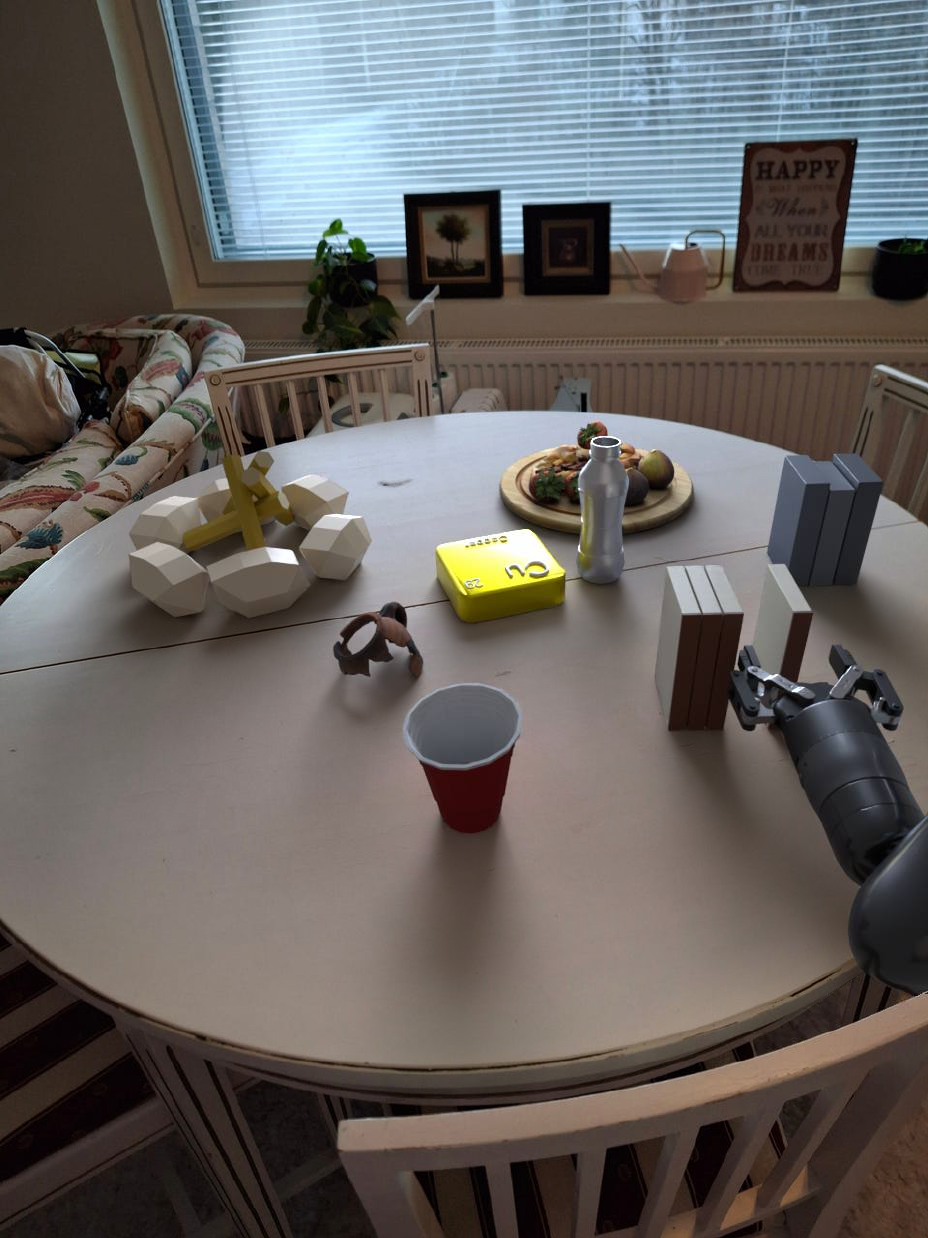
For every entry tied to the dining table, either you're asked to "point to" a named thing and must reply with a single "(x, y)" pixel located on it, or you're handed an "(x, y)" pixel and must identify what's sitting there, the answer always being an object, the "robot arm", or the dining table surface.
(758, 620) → the cream book
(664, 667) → the white books
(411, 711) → the plastic cup
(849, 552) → the grey books
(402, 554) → the dining table surface
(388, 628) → the brown looped sculpture
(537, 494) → the wooden plate
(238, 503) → the campfire
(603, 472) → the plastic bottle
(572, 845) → the dining table surface
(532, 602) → the element tile
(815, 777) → the robot arm
